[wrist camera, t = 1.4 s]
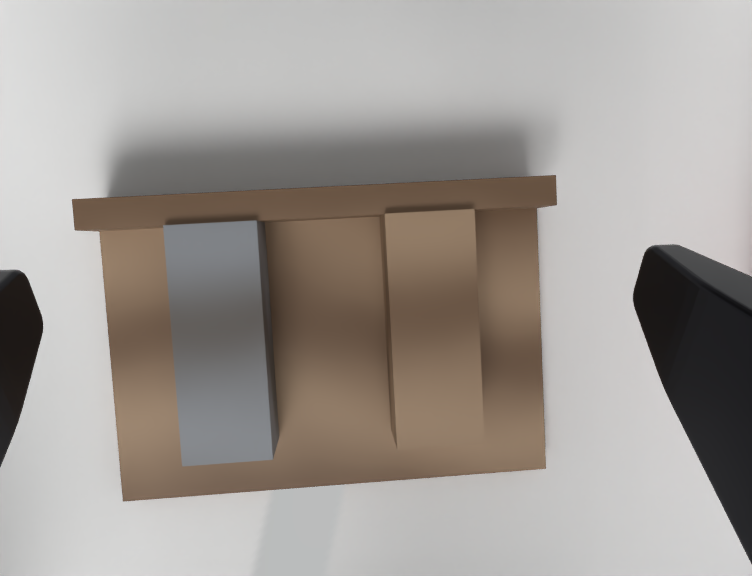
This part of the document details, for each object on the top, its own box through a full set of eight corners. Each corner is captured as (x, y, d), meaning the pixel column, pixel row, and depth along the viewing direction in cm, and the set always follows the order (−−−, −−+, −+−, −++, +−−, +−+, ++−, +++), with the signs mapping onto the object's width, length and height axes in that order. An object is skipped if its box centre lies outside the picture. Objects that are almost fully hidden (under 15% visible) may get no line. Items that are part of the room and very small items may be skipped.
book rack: (539, 461, 26) (569, 494, 22) (129, 492, 25) (98, 531, 21) (529, 183, 25) (558, 174, 21) (105, 204, 24) (68, 199, 21)
